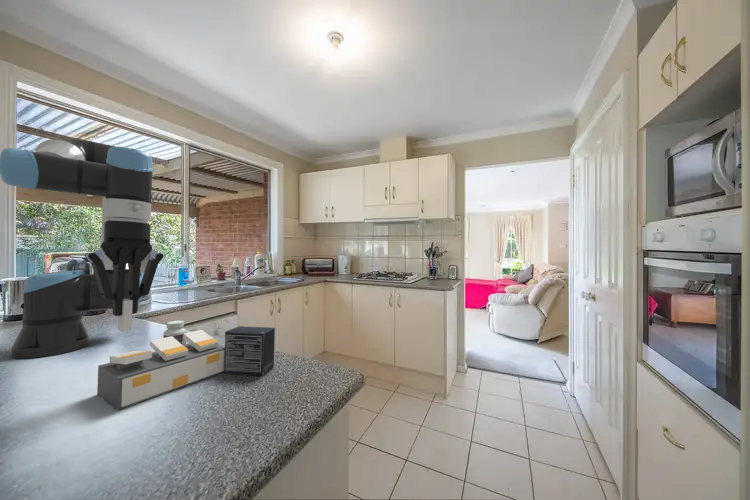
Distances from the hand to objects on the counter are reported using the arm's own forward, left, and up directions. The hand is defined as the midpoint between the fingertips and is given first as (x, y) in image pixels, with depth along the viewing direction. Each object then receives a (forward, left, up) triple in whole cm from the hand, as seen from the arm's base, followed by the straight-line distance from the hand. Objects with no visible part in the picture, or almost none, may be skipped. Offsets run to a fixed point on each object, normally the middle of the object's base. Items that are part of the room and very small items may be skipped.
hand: (124, 329), depth 60 cm
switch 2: (+4, +7, -5) cm, 9 cm away
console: (+4, +7, -13) cm, 15 cm away
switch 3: (+4, +14, -5) cm, 15 cm away
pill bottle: (-13, +15, -13) cm, 24 cm away
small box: (+13, +21, -13) cm, 29 cm away
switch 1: (+4, 0, -5) cm, 6 cm away
